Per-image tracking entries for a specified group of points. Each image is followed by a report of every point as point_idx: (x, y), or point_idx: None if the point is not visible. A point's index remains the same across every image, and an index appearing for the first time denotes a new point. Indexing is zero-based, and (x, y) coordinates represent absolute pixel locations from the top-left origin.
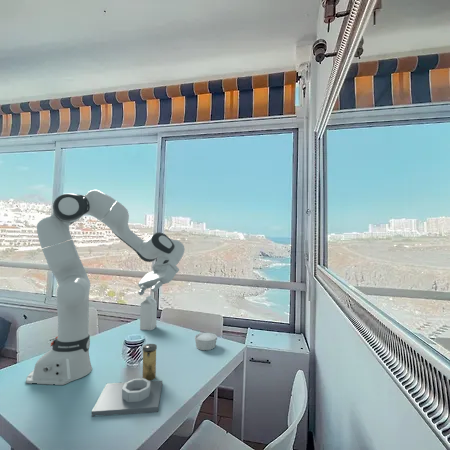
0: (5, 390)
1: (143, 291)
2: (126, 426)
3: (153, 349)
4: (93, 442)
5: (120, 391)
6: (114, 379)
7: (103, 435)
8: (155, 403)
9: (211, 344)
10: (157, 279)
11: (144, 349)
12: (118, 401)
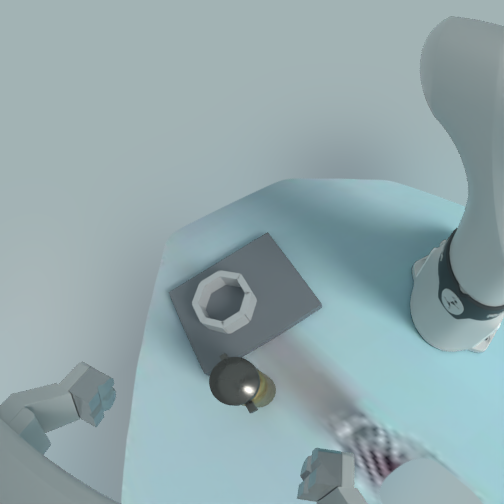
0: None
1: (303, 489)
2: (200, 249)
3: (212, 372)
4: (223, 211)
5: (266, 296)
6: (335, 342)
7: (220, 223)
8: (177, 298)
9: None
10: (11, 429)
11: (238, 357)
12: (244, 271)
